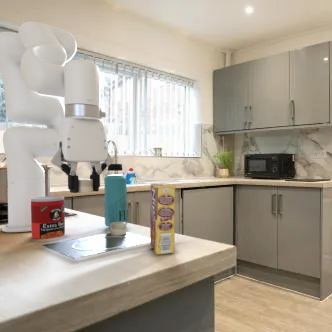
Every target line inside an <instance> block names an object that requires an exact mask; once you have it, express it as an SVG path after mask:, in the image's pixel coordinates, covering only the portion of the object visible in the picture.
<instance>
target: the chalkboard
mask: <svg viewBox="0 0 332 332" xmlns="http://www.w3.org/2000/svg"><path fill="white" fill-rule="evenodd" d="M147 243H150V237H147V236H143V235H140V234H135V233H131V232H127V231H126V234H124V235H117V236H114V235H111V232H106V233H101V234H94V235H90V236H84V237H78V238H71V239H67V240H61V241H56V242H51V243H45V244H41V246H42V247H45V248H47V249H50V250H51V251H54V252H57V253H60V254H61V255H63V256H67V257H68V258H71V259H73V260H76V259H80V258H86V257H90V256H94V255H98V254H103V253H107V252H112V251H116V250H121V249H126V248H130V247H134V246H139V245H142V244H147Z"/></svg>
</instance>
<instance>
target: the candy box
mask: <svg viewBox="0 0 332 332" xmlns="http://www.w3.org/2000/svg"><path fill="white" fill-rule="evenodd" d="M149 207H150V208H149V209H150V212H149V213H150V219H149V222H150V225H149V226H150V227H149V229H150V230H149V231H150V232H149V233H150V234H149V235H150V237H149V238H150V242H149V243H150V246H151V247H152V248H151V249H152V250H153V252H154V253H155V255H169V254H174V253H175V237H176V236H175V235H176V234H175V233H176V232H175V229H176V228H175V227H176V226H175V225H176V224H175V223H176V185H175V184H171V183H167V182H155V183H150V204H149Z"/></svg>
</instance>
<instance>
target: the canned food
mask: <svg viewBox="0 0 332 332" xmlns="http://www.w3.org/2000/svg"><path fill="white" fill-rule="evenodd" d="M65 203H66V202H65V196H61V195H50V196H46V195H45V197H36V198H32V199H31V228H32V231H31V238H32V239H34V240H47V239H48V240H49V239H55V238H60V237H63V236H65V233H66V220H65V219H66V216H65V215H66V214H65V213H66V212H65V209H66V208H65Z"/></svg>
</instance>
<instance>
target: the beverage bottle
mask: <svg viewBox="0 0 332 332" xmlns="http://www.w3.org/2000/svg"><path fill="white" fill-rule="evenodd" d="M107 171H109V172H113V171H114V172H115V171H117V172H118V171H123V164H122V163H112V164H110V165H109V166H107ZM103 183H104V206H103V207H104V226H106V227H107V228H111V223H113V222H126V226H127V224H128V222H129V221H128V218H129V217H128V216H129V214H128V188H127V177H126V176H125V175H124V174H108V175H106V176H105V178H104V179H103Z"/></svg>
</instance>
